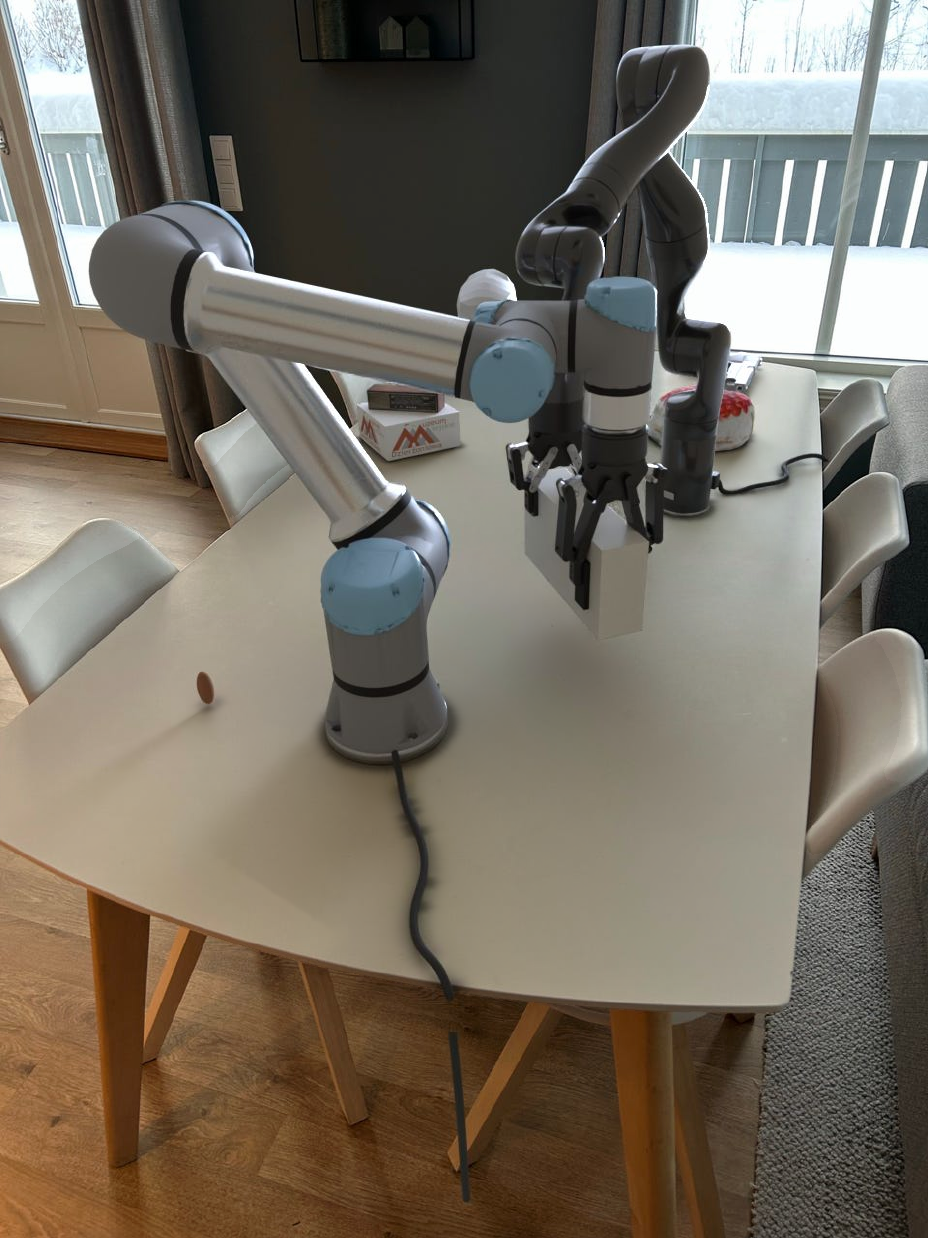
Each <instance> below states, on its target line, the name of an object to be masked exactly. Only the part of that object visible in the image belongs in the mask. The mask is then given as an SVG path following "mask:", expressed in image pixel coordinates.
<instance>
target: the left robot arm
mask: <svg viewBox="0 0 928 1238" xmlns="http://www.w3.org/2000/svg"><path fill="white" fill-rule="evenodd" d="M254 264H255V261H254V250H253V247H252V244H251V241H250V239H249V237H248V235H247V233H246V232H245V230H244V228H243V227H242V225H241V224H240V223H239V222H238V221H237V219H235V218H234V217H233V216H232V215H231V214H230V213H229V212H227V211H225V210H224V209H222V208H221V207H219V206H217V205H216V204H215V205H214V204H212V203H209V202H206V201H201V200H175V201H169V202H165V203H163V204H161V205H159V206H158V207H155V208H153V209H150V210H148V211H145V212H142V213H138V214H136V215H131V216H127V217H125V218H122V219H120V220H118V221H116V222H113V223H112V224H110V225H109V226H108V227H107V228H106V229H105V230H103V232H101V234H100V235H99V237H98V238H97V239H96V241H95V244H93V247H92V249H91V253H90V257H89V262H88V278H89V284H90V288H91V292H92V294H93V296H94V298H95V300H96V302H97V304H98V306H99V308H100V309H101V310H102V311H103V313H104V314H105V316H106V317H107V318H108V319H109V320H110V321H111V322H113V323H114V325H116V326H117V327H119V328H120V329H122V330H123V331H125V332H127V333H128V334H130V335H131V336H134V337H137V338H139V339H142V340H144V341H148V342H152V343H156V344H160V345H163V346H167V347H171V348H176V349H181V350H185V351H186V352H189V353H194V354H199V355H202V356H205V357H207V358H208V359H209V360H210V362H211V364H212V365H213V366H214V367H215V369H216V370H217V372H218V373H219V374H220V375H221V377H222V378H223V380H224V381H225V382H226V383H227V385H228V386H229V387H230V389H231V390H232V391H233V393H234V394H235V395H236V397H237V399H239V401H240V402H241V403H242V405H243V406H244V407H245V408H246V410H247V411H248V412H249V414H250V415H251V417H252V418H253V419H254V420H255V422H256V423H257V425H258V426H259V427H260V428H261V430H262V431H263V433H264V434H265V435H266V437H267V438H268V439H269V440H270V442H271V443H272V445H273V446H274V447H275V448H276V450H277V452H279V454H280V455H281V456H282V458H283V459H284V461H285V462H286V463H287V465H288V466H289V467H290V469H291V470H292V471H293V472H294V474H295V475H296V476H297V478H298V479H299V480H300V482H301V483H302V484H303V486H304V487H305V489H306V490H307V491H308V492H309V494H310V495H311V496H312V498H313V500H315V502H316V503H317V505H318V506H319V507H320V508H321V510H322V511H323V512H324V514H325V515H326V517H327V518H328V520H329V522H330V524H329V531H328V539H329V540H330V542H331V543H332V545H333V546H334V547H335V548H336V551H335V552H334V553H332V554H331V556H330V557H329V558H328V559H327V560H326V562H325V563H324V565H323V567H322V569H321V574H320V575H321V576H320V591H319V593H320V603H321V608H322V611H323V617H324V623H325V630H326V631H325V632H326V636H327V637H326V638H327V642H328V650H329V651H328V652H329V657H330V663H331V664H330V665H331V671H332V677H333V681H332V685H331V689H330V692H329V697H328V701H327V705H326V710H325V715H324V727H325V728H324V729H325V733H326V738H327V741H328V743H329V745H330V746H331V748H333V749H334V750H335V751H336V752H337V753H338V754H339V755H341V756H342V757H345V758H347V759H349V760H352V761H355V762H358V763H363V764H368V765H390V764H391V765H392V764H393V768H394V773H395V780H396V784H397V789H398V795H399V799H400V802H401V807H402V809H403V812H404V814H405V817H406V819H407V822H408V824H409V826H410V828H411V830H412V833H413V835H414V838H415V840H416V843H417V847H418V852H419V858H420V860H419V861H420V867H419V874H418V878H417V882H416V887H415V889H414V891H413V895H412V899H411V904H410V908H409V916H408V925H409V927H408V928H409V933H410V937H411V941H412V943H413V945H414V947H415V949H416V950H417V952H418V953H419V954H420V956H421V957H422V958H423V960H425V961H426V962H427V963H428V965H429V966H430V968H431V969H432V970H433V971H434V973H435V974H436V977H437V978H438V980H439V983H440V986H441V988H442V991H443V994H444V998H445V1000H446V1001H448V1002H452V1001H454V999H455V993H454V988H453V985H452V982H451V980H450V977H449V975H448V973H447V970H445V968H444V966H443V964H442V962H440V960H439V959H438V957H436V956H435V955H434V953H433V952H432V951H431V950H430V949H429V948H428V947H427V946H426V944H425V942H424V941H423V939H422V936H421V934H420V929H419V924H418V923H419V921H418V919H419V918H418V917H419V909H420V905H421V901H422V898H423V894H424V890H425V888H426V884H427V880H428V875H429V874H428V873H429V852H428V847H427V843H426V839H425V836H424V834H423V831H422V829H421V827H420V824H419V823H418V820H417V818H416V816H415V814H414V812H413V809H412V806H411V803H410V801H409V797H408V792H407V788H406V782H405V777H404V773H403V767H402V762H406V761H409V760H412V759H415V758H417V757H420V756H422V755H424V754H426V753H427V752H429V751H430V750H432V749H433V748H434V747H436V746H437V745H438V743H440V742H441V740H442V739H443V738H444V736H445V734H446V732H447V729H448V725H449V720H448V719H449V717H448V707H447V706H448V705H447V703H446V701H445V697H444V696H443V694H442V691H441V689H440V687H441V686H440V683H438V682H436V679H435V678H434V675H433V673H432V671H431V669H430V659H429V657H430V656H429V655H430V654H429V643H428V630H427V629H428V626H427V625H428V618H429V615H430V611H431V608H432V605H433V602H434V600H435V598H436V595H437V592H438V590H439V588H440V584H441V581H442V579H443V577H444V576H445V573H446V571H447V569H448V566H449V565H448V564H449V562H450V556H451V555H450V553H451V536H450V532H449V528H448V525H447V523H446V521H445V519H444V518H443V516H442V515H441V514H440V513H439V511H438V510H437V509H436V508H435V507H434V506H433V505H431V504H430V503H428V502H426V501H425V500H423V499H421V500H419V499H417V498H415V497H414V496H413V495H411V493H410V492H409V490H408V488H407V487H406V486H405V485H404V484H403V483H401V482H395V481H390V480H387V479H385V477H384V475H383V474H382V472H381V471H380V469H378V467H377V466H376V464H375V462H374V461H373V460H372V458H371V457H370V456H369V454H368V453H367V452H366V449H364V447H363V445H362V444H361V443H360V442H359V440H358V438H356V436H355V434H354V433H353V432H352V430H351V429H350V428H349V426H348V425H347V423H346V422H345V420H344V419H343V418H342V416H341V415H340V413H339V412H338V411H337V409H336V407H335V406H334V405H333V403H332V402H331V401H330V399H329V398H328V396H327V395H326V394H325V392H324V390H323V389H322V388H321V387H320V385H319V384H318V382H317V381H316V379H315V378H314V377H313V375H312V373H311V372H310V371H309V369H308V368H307V367H306V366H308V367H312V368H317V369H322V370H326V371H331V372H335V373H340V374H345V375H350V376H354V377H357V378H358V377H359V378H363V379H368V380H373V381H377V382H381V383H386V384H389V385H399V386H404V387H409V388H413V389H418V390H422V391H427V392H432V393H436V394H441V395H444V397H445V396H446V397H450V398H456V399H459V400H464V401H468V402H472V403H474V404H475V406H476V407H477V408H478V409H479V411H481V412H482V413H483V415H485V416H487V417H488V418H489V419H491V420H493V421H496V422H498V423H503V424H515V423H516V424H517V423H520V422H522V421H525V420H528V418H530V417H531V416H532V415H534V414H535V413H536V412H537V411H538V410H539V409H540V408H541V407H542V405H543V403H544V402H545V400H546V398H547V396H548V394H549V391H550V390H551V389H552V387H553V383H554V377H555V376H554V373H568V372H569V373H575V372H584V386H583V417H582V418H583V421H584V422H585V424H584V425H583V427H582V444H581V452H580V454H581V455H580V457H581V460H582V464H581V467H580V469H579V470H578V474H577V475H576V476H575V475H574V477H572V478H569V479H567V480H565V479H563V478H559V479H558V480H557V481H556V487H557V491H558V494H559V506H558V517H557V528H556V540H555V552H556V553H557V554H558V556H559V557H560V558H561V559H562V560H563V561H564V562H568V561H570V562H569V578H570V581H571V582H572V583H573V584H574V585H575V601H576V602H577V603H578V605H579V606H580V607H581V608H582V609H583V610H587V609H589V593H590V568H591V563H590V562H589V561H588V560H587V559H586V556H587V553H588V550H589V547H590V544H591V540H592V539H593V536H594V533H595V530H596V527H597V524H598V521H599V518H600V515H601V513H603V512H604V511H605V508H606V505H608V504H612V503H613V502H616V501H617V502H621V506H622V510H623V513H624V517H625V519H626V520H625V521H626V522H627V524H629V525H630V526H631V527H632V528H633V529H634V530H635V531H637V532H638V533H639V534H641V535H642V536H643V537H644V538H645V539H646V540H647V541H649V549H648V555H650V554H651V553H652V551H653V550H654V547H653V546H654V545H660V544H661V543H662V542H663V540H664V521H665V519H664V518H665V517H664V515H665V513H664V486H665V483H666V481H667V478H668V475H669V471H668V470H667V469H666V468H664V467H663V466H662V465H660V462H657V461H653V462H652V463H648V462H647V459H646V457H647V455H648V448H649V435H648V434H649V428H648V426H647V425H646V424H647V423H648V422H649V421H650V416H651V407H652V406H651V405H652V403H651V402H652V389H653V375H654V363H655V352H656V341H657V291H656V289H655V287H654V286H653V283H652V282H651V281H649V280H647V279H644V278H641V277H634V276H612V277H600V279H596V280H594V281H592V282H591V283H589V285H588V286H587V291H586V295H585V299H580V300H578V301H562V300H517V301H515V300H511V299H505V300H503V301H493V302H483V303H481V304H480V305H479V306H478V307H477V309H476V311H475V317H474V321H471V320H470V319H465V318H460V317H458V316H456V315H451V314H446V313H442V312H437V311H434V310H433V311H432V310H428V309H423V308H420V307H419V308H418V307H413V306H409V305H404V304H400V303H396V302H391V301H386V300H381V299H377V298H373V297H368V296H364V295H359V294H355V293H349V292H345V291H341V290H335V289H332V288H331V289H330V288H326V287H323V286H317V285H313V284H308V283H303V282H299V281H295V280H289V279H286V278H285V279H284V278H280V277H275V276H271V275H267V274H262V273H257V272H256V271H255V269H254V267H255V266H254ZM643 480H645V483H644V484H645V487H644V488H645V489H644V491H645V492H644V493H645V494H644V495H645V496H644V497H645V499H644V515H645V516H644V517H643V514H642V510H641V506H640V504H641V500H640V497H639V492H638V487H639V486H640V484H641V483H642V481H643ZM582 485H583V486H584V487H585V489H586V493H585V496H584V499H583V502H584V505H583V508H582V511H581V514H580V517H579V520H578V523H577V526H576V529H575V519H576V509H577V501H576V497H578V496H579V488H580V487H581V486H582ZM574 529H575V532H574ZM447 1032H448V1033H447V1034H448V1047H449V1056H450V1064H451V1075H452V1085H453V1094H454V1096H453V1097H454V1106H455V1119H456V1129H457V1131H456V1132H457V1145H458V1158H459V1159H458V1160H459V1172H460V1184H461V1196H462V1197H461V1198H462V1201H463V1203H466V1204H468V1203H469V1202H470V1201H471V1186H470V1185H471V1184H470V1172H469V1160H468V1159H469V1158H468V1157H469V1156H468V1141H467V1129H466V1128H467V1126H466V1113H465V1112H466V1111H465V1099H464V1089H463V1077H462V1065H461V1057H460V1046H459V1036H458V1032H455V1031H450V1030H449V1031H447Z"/></svg>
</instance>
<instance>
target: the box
mask: <svg viewBox="0 0 928 1238" xmlns="http://www.w3.org/2000/svg"><path fill="white" fill-rule="evenodd" d="M523 474H524V477H525V475H526V473H523ZM574 476H575V475H574V473H573V472H571V471H570V470H568V468H566V467H556V468H554V469H548V471H547V474H546V476H545V477H544V478H542V480H541V482H540V484H539V486H538V488H537V491H538V492H539V496H538V516H535V517H533V516H532V515H531V514H530V513H529V512H528V511H527V510H526V509H525V507H524V506H523V507H524V555H525V556H526V557H527V558H528V559H529V560H530V562H531V563H532V564H533V565H534V567H535V568H536V569H537V570H538V571H539V573H540V574H541V576H543V577H544V579H546V581H547V582H548V583H549V584H550V585H551V587H552V588H553V589H554V590H555V591H556V593H557V594H558V595H559V596H560V597H561V598H562V600H563V601H564V602H565V603H566V605H567V606H568V607H569V608H570V609H571V610H572V611H573V613H574V614H575V615H576V616H577V617H578V619H579V620H580V621H581V622H582V623H583V625H584V626H585V627H586V628H587V629H588V631H589V632H590V633H591V634H592V635H593V636H594V638H595V639H596V640H597V641H603V640H607V639H612V638H616V637H621V636H626V635H630V634H635V633H640V632H643V629H644V628H643V627H644V626H643V625H644V614H645V603H646V602H645V600H646V590H647V589H646V588H647V577H648V576H647V574H648V562H649V554H648V549H649V541H647V540H646V539H645V538H644V537H643V536H642V535H641V534H639V533H638V532H637V531H635V530H634V529H633V528H632V527H631V526H630V525H629V524H627V521H626V520H625V519H623V517H621V516H620V515H619V514H618V513H617V512H616V511H615V510H614V509H613V508H611V507H610V506H609V505H608V504H607V505H606V508H605V511H604V512H603V513H601V515H600V518H599V521H598V524H597V527H596V530H595V533H594V536H593V539H592V540H591V544H590V547H589V550H588V553H587V556H586V559H587V560H588V561H589V562H590V563H591V568H590V593H589V609H587V610H583V609H582V608H581V607H580V606H579V605H578V603H577V602H576V601H575V585H574V584H573V583H572V582H571V581H570V578H569V562H570V561H568V562H564V561H563V560H562V559H561V558H560V557H559V556H558V554H557V553H556V552H555V540H556V528H557V517H558V506H559V494H558V491H557V487H556V481H557V480H558V479H559V478H563V479H565V480H567V479H569V478H572V477H574ZM585 493H586V489H585V487H584V486H583V485H582V486H581V487H580V488H579V496H578V497H576V501H577V509H576V519H575V529H576V526H577V523H578V520H579V517H580V514H581V511H582V508H583V505H584V502H583V499H584V496H585ZM575 529H574V532H575Z"/></svg>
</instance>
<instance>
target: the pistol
mask: <svg viewBox="0 0 928 1238" xmlns="http://www.w3.org/2000/svg"><path fill="white" fill-rule="evenodd" d="M763 361H764V360H763V358H762V356H761V355H759V354H758V355H757V354H752V353H747V352H744V351H739V352H737V353H730V356H729V361H728V367H727V373H726V379H725V386H724V390H727V391H735V392H740V393H743V394H745V393H746V392H747V390H748V389H749V385H750V384H751V382H752V380H753V377H754V376H755V374H756V372H757V371H758V369H759V367H761V366H762V365H763V363H762V362H763Z"/></svg>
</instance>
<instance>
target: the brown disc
mask: <svg viewBox="0 0 928 1238" xmlns="http://www.w3.org/2000/svg"><path fill="white" fill-rule="evenodd" d="M196 689H197V694H198V695H199V698H200V700H201V701H202V702H203V703H204V704H206V705H210V704H211V703H212V702H213V701H214V699H215V688H214V683H213V680H212V679H211V677H210V675H209V674H208V673H207V672H206V671H200V672H199V673H198V674H197V677H196Z"/></svg>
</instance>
